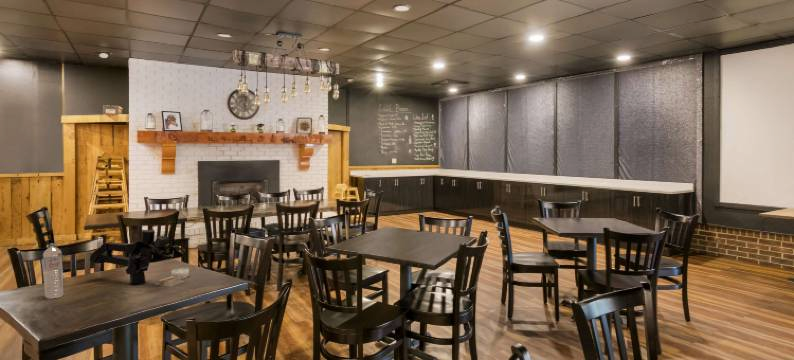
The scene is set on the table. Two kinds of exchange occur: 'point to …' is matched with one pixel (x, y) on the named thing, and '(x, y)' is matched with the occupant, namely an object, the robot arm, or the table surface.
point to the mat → (172, 284)
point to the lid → (169, 280)
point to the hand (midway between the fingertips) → (177, 256)
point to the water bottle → (53, 272)
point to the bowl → (180, 272)
